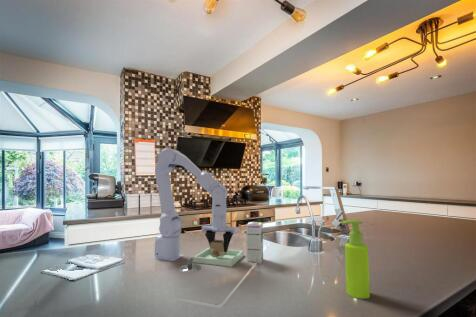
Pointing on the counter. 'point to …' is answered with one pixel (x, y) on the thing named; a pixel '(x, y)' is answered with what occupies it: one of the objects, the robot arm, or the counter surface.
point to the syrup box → (254, 242)
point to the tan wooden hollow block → (217, 248)
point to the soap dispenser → (356, 263)
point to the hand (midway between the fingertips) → (219, 250)
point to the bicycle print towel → (88, 266)
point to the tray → (218, 258)
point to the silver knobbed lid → (189, 267)
